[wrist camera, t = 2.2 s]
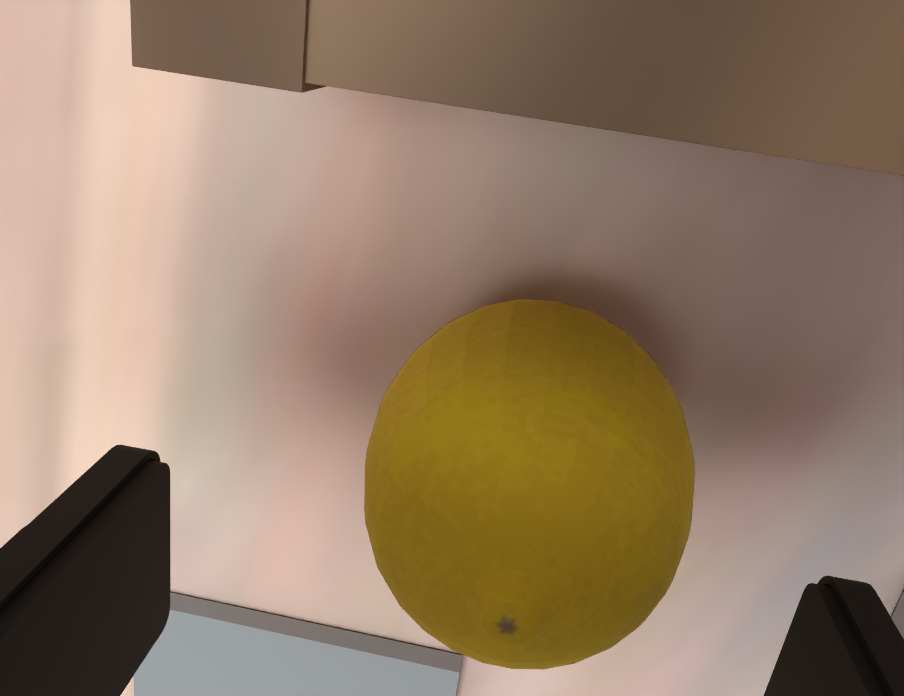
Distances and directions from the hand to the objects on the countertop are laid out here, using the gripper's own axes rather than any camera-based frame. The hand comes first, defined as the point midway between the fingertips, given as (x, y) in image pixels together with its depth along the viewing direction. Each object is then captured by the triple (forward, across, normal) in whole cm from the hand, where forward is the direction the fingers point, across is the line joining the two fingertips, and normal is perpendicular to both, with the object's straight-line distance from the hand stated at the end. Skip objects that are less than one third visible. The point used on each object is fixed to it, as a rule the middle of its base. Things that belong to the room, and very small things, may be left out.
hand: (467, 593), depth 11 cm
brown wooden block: (+6, -1, -8) cm, 10 cm away
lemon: (+7, -1, -1) cm, 7 cm away
